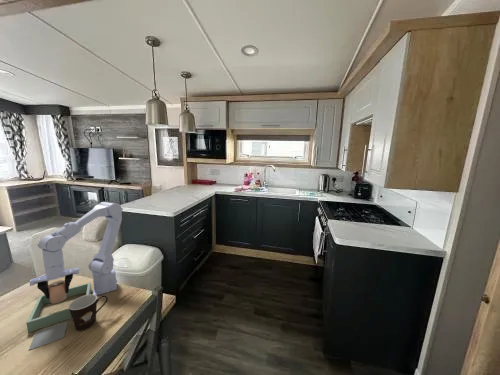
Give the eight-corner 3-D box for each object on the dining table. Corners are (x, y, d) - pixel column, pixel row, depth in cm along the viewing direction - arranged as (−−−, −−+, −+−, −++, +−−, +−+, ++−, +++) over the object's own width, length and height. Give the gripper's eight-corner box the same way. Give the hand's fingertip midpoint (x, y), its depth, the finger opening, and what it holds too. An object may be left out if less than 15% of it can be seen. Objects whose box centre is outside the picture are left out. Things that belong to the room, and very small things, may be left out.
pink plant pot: (67, 293, 88) (65, 278, 87) (66, 300, 84) (64, 284, 83) (51, 298, 85) (49, 282, 84) (49, 305, 81) (46, 289, 80)
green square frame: (91, 289, 101) (90, 282, 101) (88, 312, 87) (87, 303, 86) (40, 303, 91) (39, 295, 90) (27, 332, 76) (26, 322, 76)
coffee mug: (68, 337, 75) (65, 312, 73) (75, 320, 82) (72, 298, 81) (106, 325, 80) (104, 302, 79) (109, 311, 88) (107, 290, 86)
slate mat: (67, 321, 82) (67, 320, 82) (63, 337, 74) (63, 337, 74) (36, 331, 77) (36, 331, 77) (28, 350, 69) (28, 350, 69)
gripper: (77, 255, 90) (81, 283, 92) (30, 265, 81) (35, 296, 83) (77, 261, 84) (80, 291, 86) (26, 273, 75) (31, 306, 77)
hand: (58, 294), depth 84 cm, fingers closed on pink plant pot, 5 cm apart
